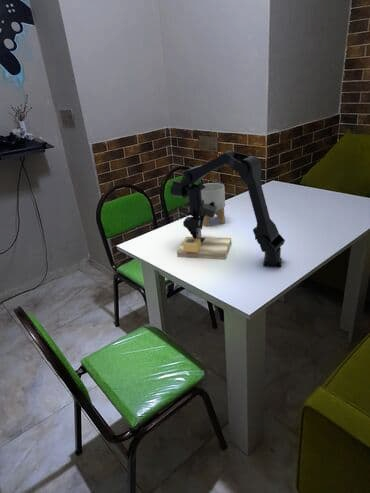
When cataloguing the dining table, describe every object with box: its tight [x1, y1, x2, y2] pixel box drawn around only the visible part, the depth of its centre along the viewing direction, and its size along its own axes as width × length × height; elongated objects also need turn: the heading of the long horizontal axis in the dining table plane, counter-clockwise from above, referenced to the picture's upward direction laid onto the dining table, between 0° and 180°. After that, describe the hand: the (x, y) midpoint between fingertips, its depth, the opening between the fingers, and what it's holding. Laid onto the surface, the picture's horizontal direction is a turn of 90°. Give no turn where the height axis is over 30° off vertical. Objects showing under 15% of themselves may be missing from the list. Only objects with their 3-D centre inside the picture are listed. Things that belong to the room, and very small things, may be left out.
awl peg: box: [196, 227, 203, 242], centre depth 147 cm, size 3×3×8 cm
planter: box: [201, 182, 226, 227], centre depth 167 cm, size 13×13×18 cm
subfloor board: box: [176, 236, 232, 260], centre depth 144 cm, size 14×20×2 cm
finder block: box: [182, 237, 201, 252], centre depth 140 cm, size 5×6×4 cm
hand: (198, 233), depth 146 cm, fingers open, 9 cm apart
